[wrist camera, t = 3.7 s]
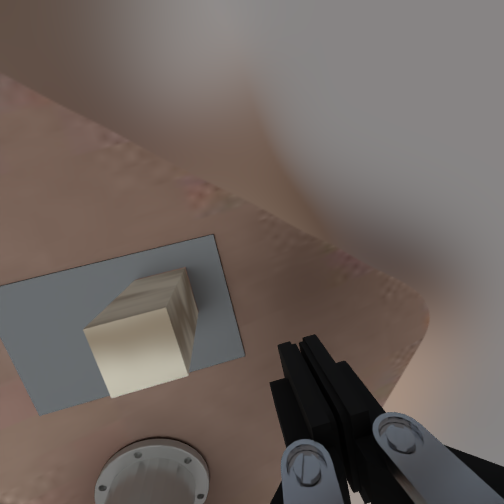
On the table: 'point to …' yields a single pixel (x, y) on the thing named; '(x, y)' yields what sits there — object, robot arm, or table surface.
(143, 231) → the table surface
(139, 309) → the birch block
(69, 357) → the rubber mat
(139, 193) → the table surface
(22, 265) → the table surface
